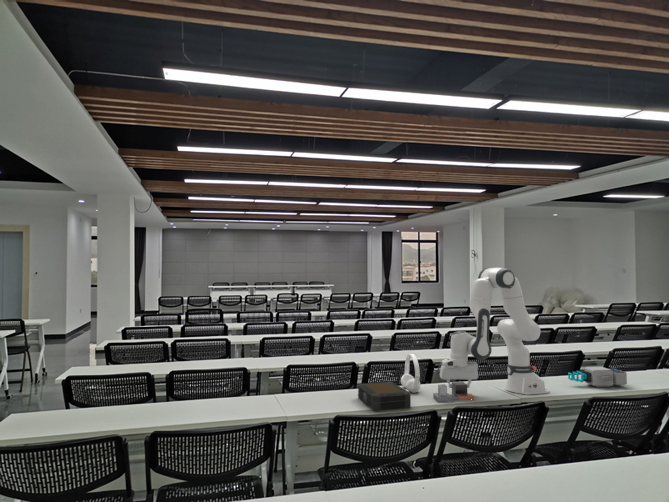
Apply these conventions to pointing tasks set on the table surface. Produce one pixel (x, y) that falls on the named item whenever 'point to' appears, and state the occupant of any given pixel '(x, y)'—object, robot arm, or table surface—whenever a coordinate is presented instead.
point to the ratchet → (445, 397)
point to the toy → (600, 376)
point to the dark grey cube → (459, 388)
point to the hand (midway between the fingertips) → (459, 387)
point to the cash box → (384, 396)
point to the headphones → (407, 379)
